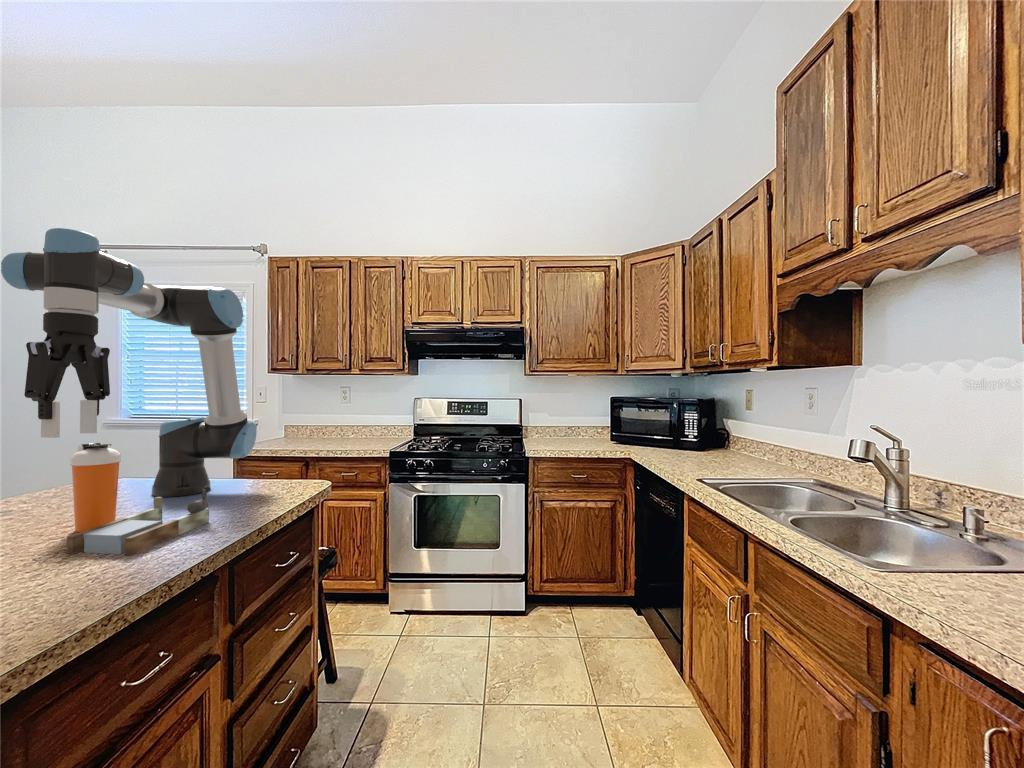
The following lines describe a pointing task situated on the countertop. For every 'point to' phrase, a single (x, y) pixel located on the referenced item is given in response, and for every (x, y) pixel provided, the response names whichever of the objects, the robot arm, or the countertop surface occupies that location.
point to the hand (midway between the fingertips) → (70, 434)
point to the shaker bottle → (94, 485)
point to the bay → (155, 534)
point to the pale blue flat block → (115, 536)
